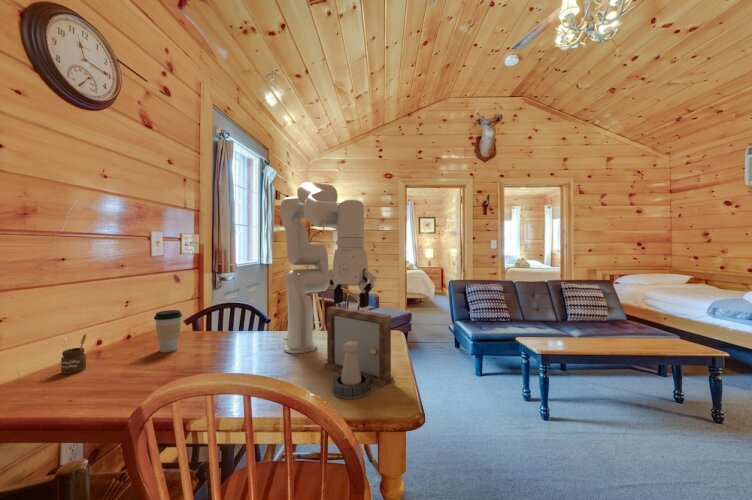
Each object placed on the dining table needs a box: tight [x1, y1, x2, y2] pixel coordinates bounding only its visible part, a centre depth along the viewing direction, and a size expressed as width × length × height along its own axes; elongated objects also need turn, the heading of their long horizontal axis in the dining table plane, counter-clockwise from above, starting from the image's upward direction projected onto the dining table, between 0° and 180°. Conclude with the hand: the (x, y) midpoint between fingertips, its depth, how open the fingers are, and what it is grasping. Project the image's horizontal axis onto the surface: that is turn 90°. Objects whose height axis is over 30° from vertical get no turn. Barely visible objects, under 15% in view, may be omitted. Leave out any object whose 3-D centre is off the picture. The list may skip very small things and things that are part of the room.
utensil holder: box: [60, 333, 87, 375], centre depth 102 cm, size 6×6×12 cm
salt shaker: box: [341, 341, 361, 386], centre depth 88 cm, size 6×6×13 cm
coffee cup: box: [153, 309, 183, 353], centre depth 123 cm, size 9×9×15 cm
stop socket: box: [331, 373, 372, 400], centre depth 88 cm, size 11×11×3 cm
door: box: [334, 315, 380, 377], centre depth 99 cm, size 19×3×16 cm, turn 53°
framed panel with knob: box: [323, 305, 395, 388], centre depth 99 cm, size 24×6×20 cm, turn 53°
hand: (350, 304), depth 88 cm, fingers open, 9 cm apart
